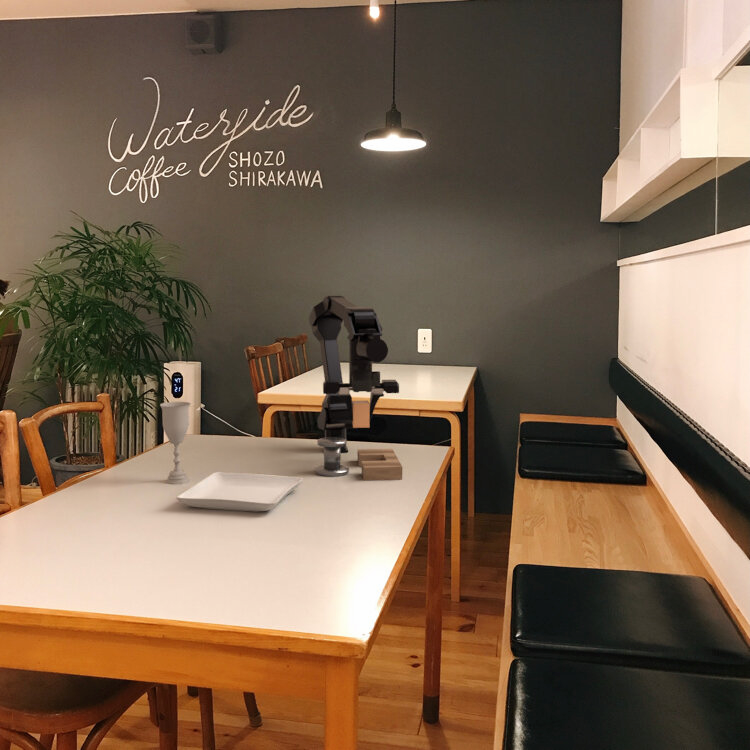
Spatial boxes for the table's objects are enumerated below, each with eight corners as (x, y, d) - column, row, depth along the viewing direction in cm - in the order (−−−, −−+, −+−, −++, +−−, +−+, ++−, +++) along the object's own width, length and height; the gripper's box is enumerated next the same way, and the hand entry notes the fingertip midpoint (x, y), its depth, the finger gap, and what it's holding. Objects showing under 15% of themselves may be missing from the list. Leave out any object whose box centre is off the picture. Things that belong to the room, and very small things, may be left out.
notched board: (357, 460, 210) (357, 449, 210) (392, 460, 211) (392, 448, 211) (363, 480, 190) (363, 467, 190) (402, 479, 191) (402, 466, 191)
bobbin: (315, 469, 201) (315, 437, 200) (347, 468, 202) (347, 436, 201) (316, 477, 193) (315, 443, 192) (349, 476, 194) (349, 443, 193)
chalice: (188, 485, 185) (186, 406, 183) (158, 485, 186) (155, 406, 183) (195, 477, 193) (193, 401, 191) (167, 477, 193) (164, 401, 191)
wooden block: (352, 424, 207) (352, 400, 206) (368, 423, 207) (368, 400, 207) (353, 427, 202) (353, 403, 201) (369, 427, 202) (369, 403, 202)
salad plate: (274, 518, 162) (274, 501, 161) (174, 512, 166) (173, 495, 165) (305, 491, 182) (304, 476, 182) (215, 486, 186) (215, 471, 186)
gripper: (323, 362, 194) (323, 427, 196) (401, 361, 196) (401, 426, 197) (322, 358, 205) (323, 419, 207) (396, 357, 207) (396, 418, 208)
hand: (360, 420), depth 205 cm, fingers closed on wooden block, 4 cm apart
